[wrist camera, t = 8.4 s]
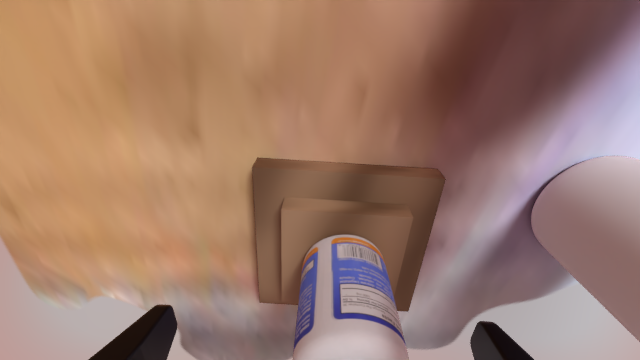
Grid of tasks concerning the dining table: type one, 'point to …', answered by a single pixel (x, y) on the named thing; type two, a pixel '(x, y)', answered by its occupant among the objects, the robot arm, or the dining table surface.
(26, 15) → the dining table surface
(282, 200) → the walnut stand
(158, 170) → the dining table surface
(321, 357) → the pill bottle
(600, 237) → the pill bottle
